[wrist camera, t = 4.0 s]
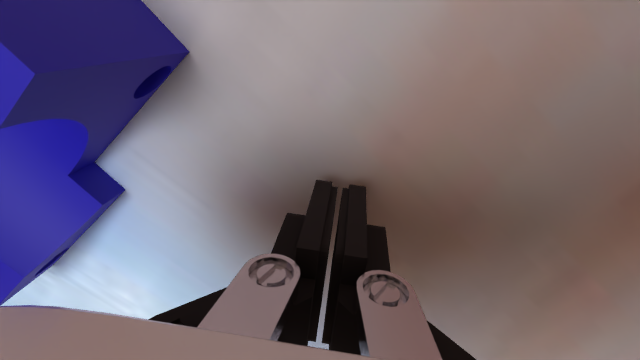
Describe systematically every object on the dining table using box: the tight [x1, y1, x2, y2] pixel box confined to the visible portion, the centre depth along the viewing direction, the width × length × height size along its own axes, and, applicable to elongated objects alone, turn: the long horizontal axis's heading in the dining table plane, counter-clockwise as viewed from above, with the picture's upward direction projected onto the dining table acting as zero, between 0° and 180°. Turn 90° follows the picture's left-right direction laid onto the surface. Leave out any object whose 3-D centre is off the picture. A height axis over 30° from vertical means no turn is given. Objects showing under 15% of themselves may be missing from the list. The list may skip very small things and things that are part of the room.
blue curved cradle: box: [0, 0, 189, 305], centre depth 11 cm, size 12×4×6 cm, turn 132°
